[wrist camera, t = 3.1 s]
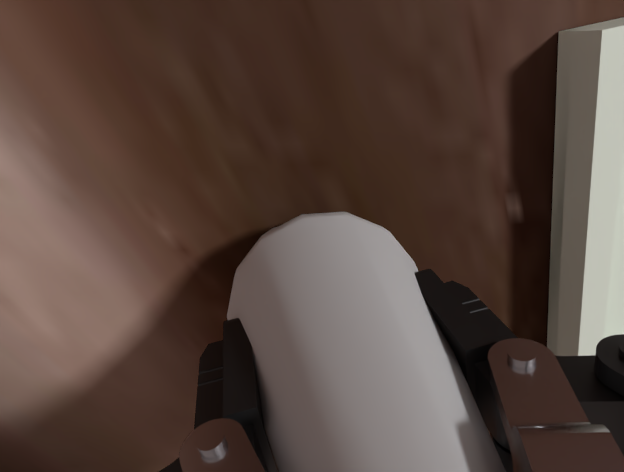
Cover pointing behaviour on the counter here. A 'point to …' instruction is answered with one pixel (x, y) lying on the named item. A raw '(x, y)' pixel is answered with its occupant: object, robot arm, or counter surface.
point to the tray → (588, 191)
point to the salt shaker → (353, 355)
